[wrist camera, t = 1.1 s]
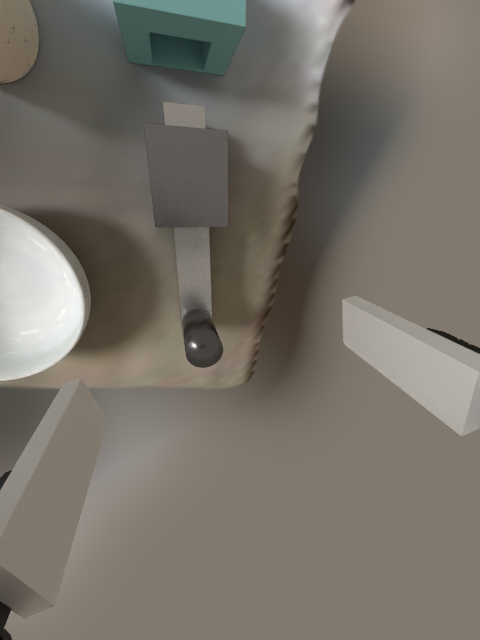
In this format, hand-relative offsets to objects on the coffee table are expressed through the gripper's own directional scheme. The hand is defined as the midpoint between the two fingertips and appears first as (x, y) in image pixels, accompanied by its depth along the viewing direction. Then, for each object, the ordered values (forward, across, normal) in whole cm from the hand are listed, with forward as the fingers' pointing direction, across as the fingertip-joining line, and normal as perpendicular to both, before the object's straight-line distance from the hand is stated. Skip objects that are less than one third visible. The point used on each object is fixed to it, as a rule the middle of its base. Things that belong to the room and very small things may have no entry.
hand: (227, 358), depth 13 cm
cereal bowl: (+22, -19, +3) cm, 30 cm away
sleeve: (+22, +2, +9) cm, 24 cm away
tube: (+21, +1, +4) cm, 22 cm away
